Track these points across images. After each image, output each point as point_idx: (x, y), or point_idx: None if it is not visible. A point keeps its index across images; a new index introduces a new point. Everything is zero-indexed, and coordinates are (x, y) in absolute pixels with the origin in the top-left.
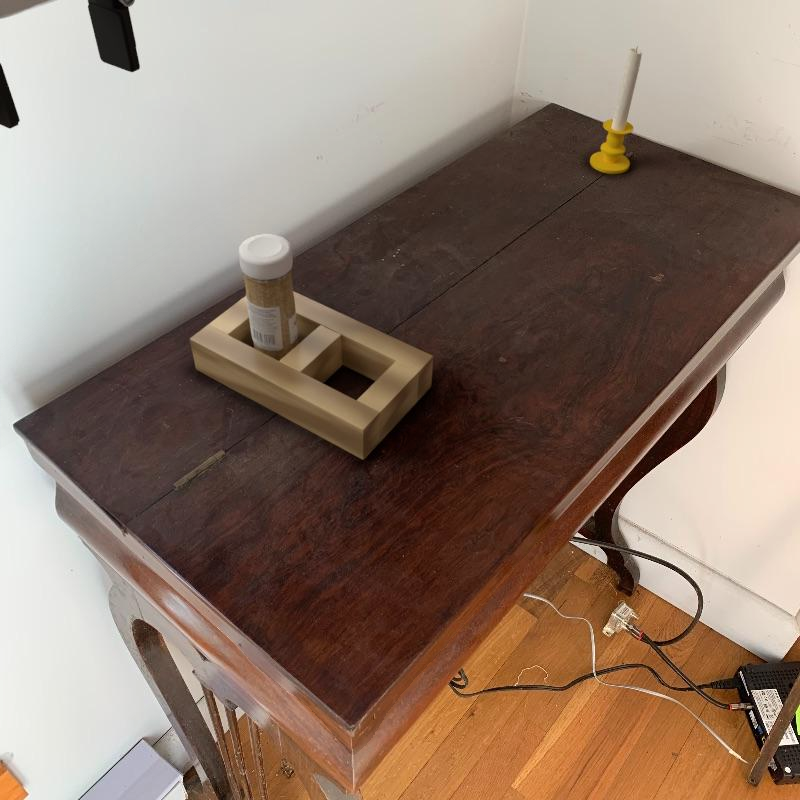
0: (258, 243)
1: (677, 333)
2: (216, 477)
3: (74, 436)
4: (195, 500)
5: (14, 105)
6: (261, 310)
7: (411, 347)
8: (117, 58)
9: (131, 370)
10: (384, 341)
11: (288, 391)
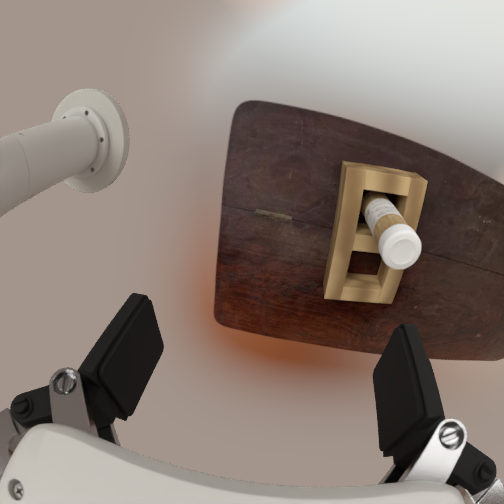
0: (405, 244)
1: (444, 352)
2: (273, 226)
3: (249, 132)
4: (254, 225)
5: (154, 367)
6: (372, 232)
7: (394, 292)
8: (382, 370)
9: (318, 120)
10: (395, 278)
11: (333, 252)
